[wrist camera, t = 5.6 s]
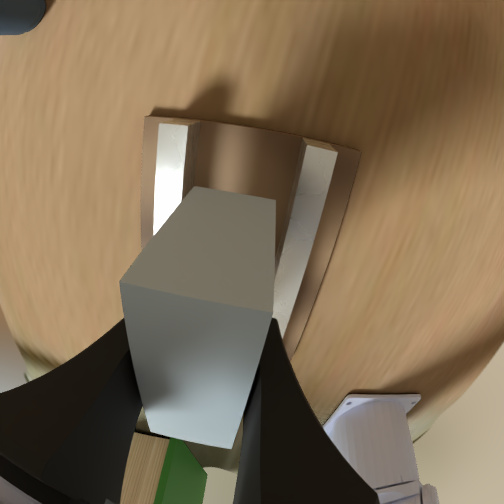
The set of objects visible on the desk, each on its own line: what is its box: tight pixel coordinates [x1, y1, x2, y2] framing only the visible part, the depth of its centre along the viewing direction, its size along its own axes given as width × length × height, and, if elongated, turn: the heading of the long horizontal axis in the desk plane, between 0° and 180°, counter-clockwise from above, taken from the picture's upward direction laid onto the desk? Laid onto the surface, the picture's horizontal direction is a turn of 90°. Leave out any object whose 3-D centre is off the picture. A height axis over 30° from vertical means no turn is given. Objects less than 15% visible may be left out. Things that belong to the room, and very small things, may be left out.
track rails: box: [154, 119, 338, 339], centre depth 15 cm, size 14×7×2 cm, turn 171°
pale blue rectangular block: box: [119, 186, 276, 449], centre depth 10 cm, size 7×3×6 cm, turn 171°
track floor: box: [141, 115, 362, 361], centre depth 16 cm, size 14×10×1 cm
